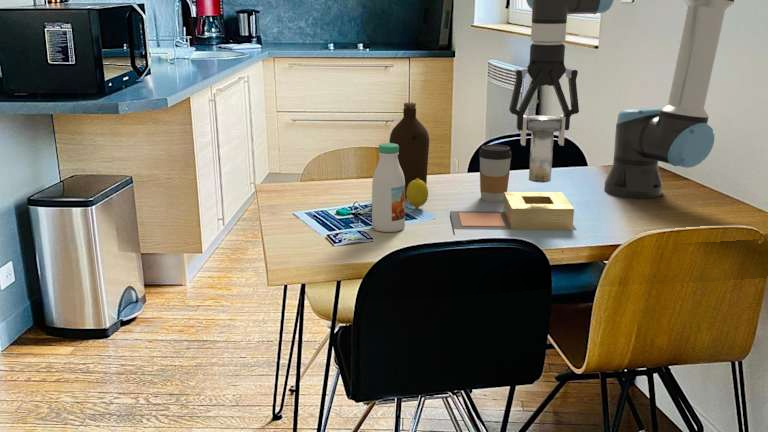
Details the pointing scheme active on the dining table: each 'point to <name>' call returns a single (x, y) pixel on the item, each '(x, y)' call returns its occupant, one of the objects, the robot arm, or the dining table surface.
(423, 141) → the olive oil
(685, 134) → the robot arm
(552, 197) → the light wooden flat block
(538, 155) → the steel peg
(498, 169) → the coffee cup
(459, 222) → the base mat
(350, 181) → the dining table surface
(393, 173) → the milk bottle
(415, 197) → the lemon
